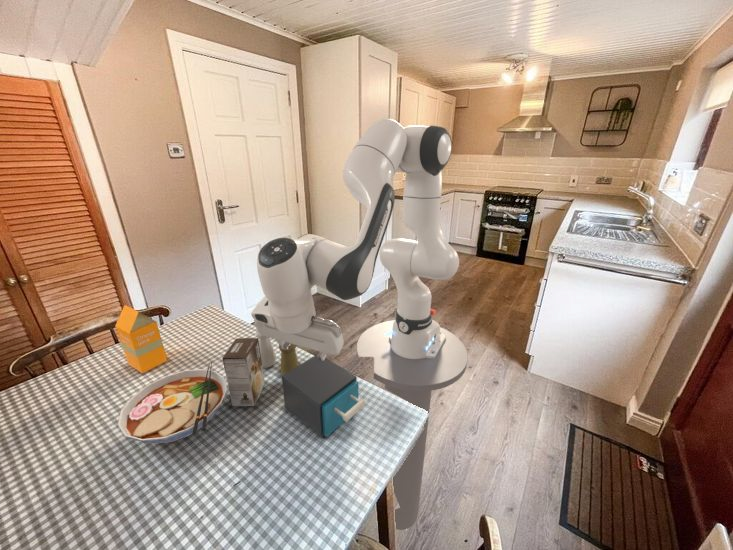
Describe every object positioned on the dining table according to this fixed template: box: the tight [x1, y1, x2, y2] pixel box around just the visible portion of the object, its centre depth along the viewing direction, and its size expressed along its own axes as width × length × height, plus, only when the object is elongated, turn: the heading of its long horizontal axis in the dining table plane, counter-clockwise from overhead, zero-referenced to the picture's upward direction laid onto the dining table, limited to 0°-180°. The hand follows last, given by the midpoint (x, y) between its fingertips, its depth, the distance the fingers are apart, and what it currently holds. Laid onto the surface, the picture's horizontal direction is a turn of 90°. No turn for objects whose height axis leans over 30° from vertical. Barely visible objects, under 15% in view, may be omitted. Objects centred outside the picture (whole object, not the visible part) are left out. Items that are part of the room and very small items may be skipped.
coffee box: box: [222, 337, 266, 407], centre depth 83 cm, size 9×6×16 cm
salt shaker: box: [255, 330, 277, 369], centre depth 96 cm, size 6×6×13 cm
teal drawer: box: [322, 380, 367, 437], centre depth 77 cm, size 18×11×9 cm, turn 50°
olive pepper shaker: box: [278, 343, 300, 376], centre depth 94 cm, size 6×6×11 cm
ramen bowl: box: [117, 361, 228, 445], centre depth 75 cm, size 25×23×8 cm
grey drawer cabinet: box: [281, 354, 357, 439], centre depth 79 cm, size 15×13×11 cm
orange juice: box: [114, 304, 168, 374], centre depth 95 cm, size 8×9×20 cm
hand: (304, 352), depth 72 cm, fingers open, 8 cm apart
